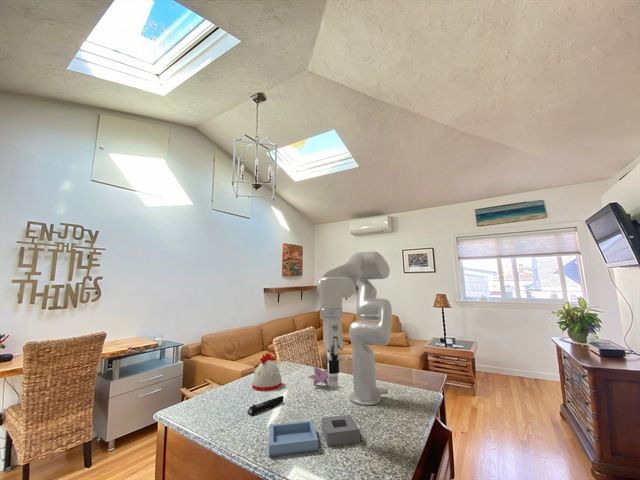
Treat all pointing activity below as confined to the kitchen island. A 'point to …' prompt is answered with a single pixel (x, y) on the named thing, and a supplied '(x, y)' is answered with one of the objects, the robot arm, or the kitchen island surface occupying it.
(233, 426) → the kitchen island surface
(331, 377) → the white rounded cylinder piece
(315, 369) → the lily
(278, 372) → the knit hat
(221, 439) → the kitchen island surface
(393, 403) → the kitchen island surface
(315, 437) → the parts tray
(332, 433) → the gray square hole block
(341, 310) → the robot arm
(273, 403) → the electric trimmer
